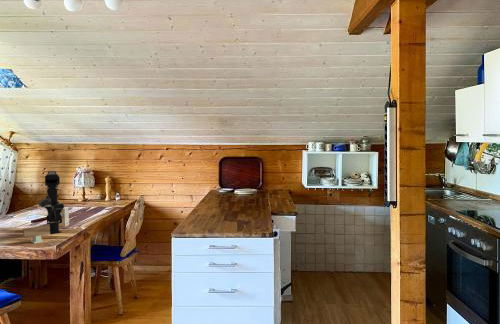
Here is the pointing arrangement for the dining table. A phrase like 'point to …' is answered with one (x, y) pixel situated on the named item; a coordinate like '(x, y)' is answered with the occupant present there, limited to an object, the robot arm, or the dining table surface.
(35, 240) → the fulcrum
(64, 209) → the supplement box
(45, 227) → the brown rectangular block
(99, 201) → the dining table surface
